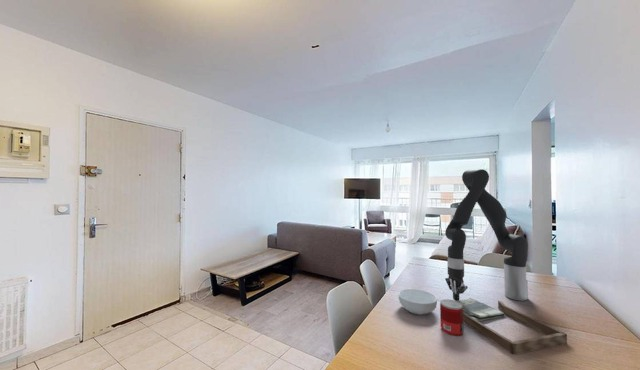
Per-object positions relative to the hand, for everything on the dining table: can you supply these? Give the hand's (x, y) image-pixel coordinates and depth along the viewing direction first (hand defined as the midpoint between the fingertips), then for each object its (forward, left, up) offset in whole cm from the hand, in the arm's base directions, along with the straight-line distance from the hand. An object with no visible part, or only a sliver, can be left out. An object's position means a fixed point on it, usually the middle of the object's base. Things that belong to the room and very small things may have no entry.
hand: (456, 300), depth 124 cm
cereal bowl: (+25, +4, -1) cm, 26 cm away
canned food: (+22, +22, -1) cm, 31 cm away
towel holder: (0, +25, 0) cm, 25 cm away
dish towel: (0, +10, -1) cm, 10 cm away
